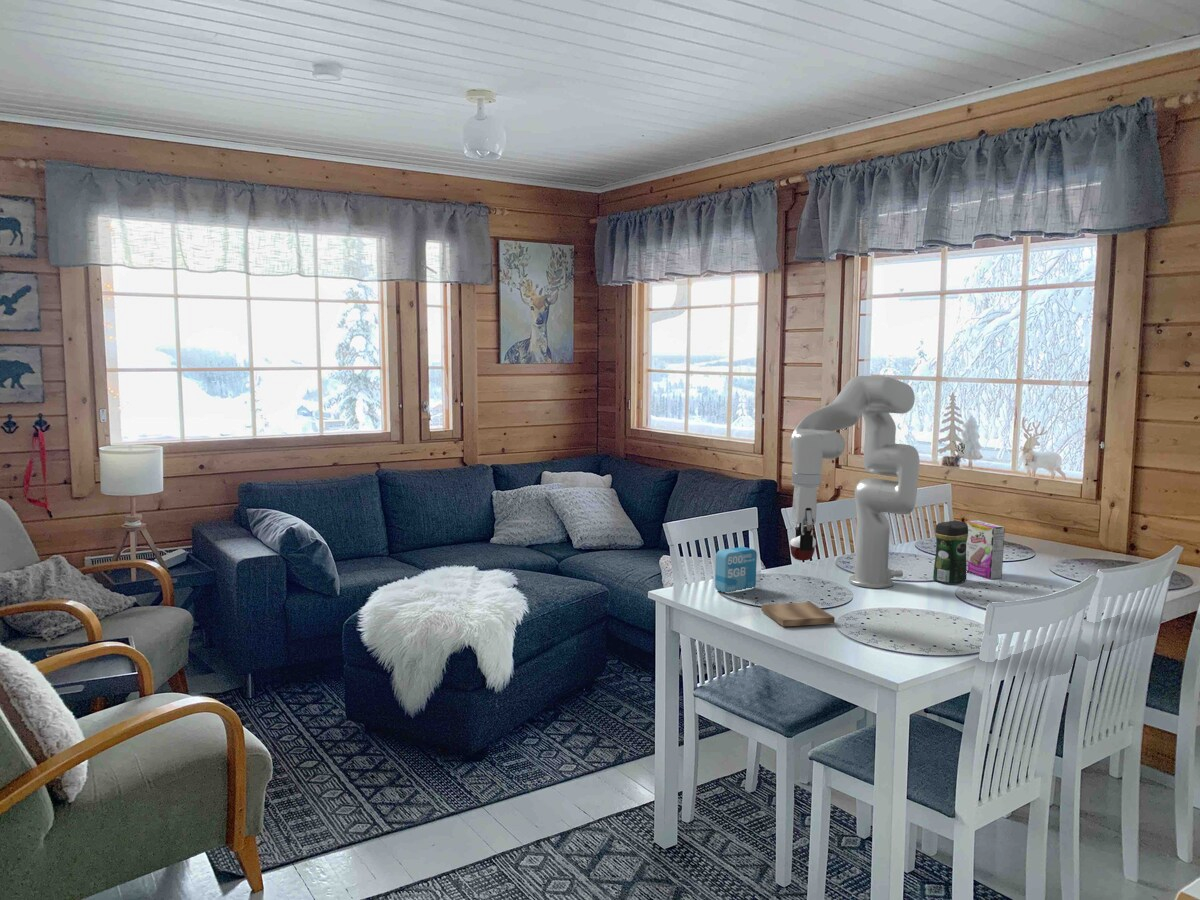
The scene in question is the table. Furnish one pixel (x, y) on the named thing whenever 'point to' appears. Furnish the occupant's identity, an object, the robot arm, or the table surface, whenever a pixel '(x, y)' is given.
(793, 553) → the cocoa
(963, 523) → the coffee jar
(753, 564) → the data package
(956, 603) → the table surface
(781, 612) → the stand
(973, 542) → the candy bar box
